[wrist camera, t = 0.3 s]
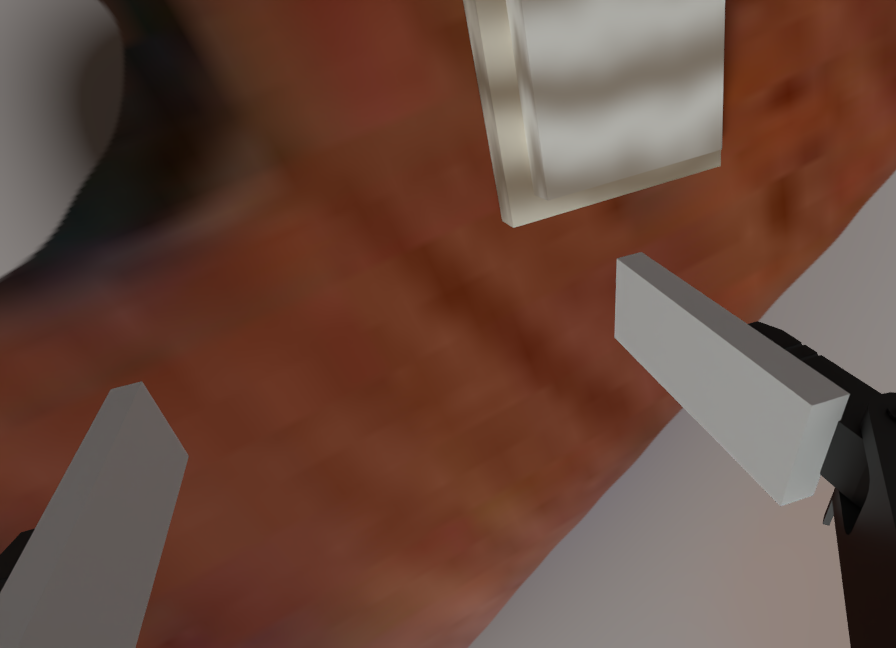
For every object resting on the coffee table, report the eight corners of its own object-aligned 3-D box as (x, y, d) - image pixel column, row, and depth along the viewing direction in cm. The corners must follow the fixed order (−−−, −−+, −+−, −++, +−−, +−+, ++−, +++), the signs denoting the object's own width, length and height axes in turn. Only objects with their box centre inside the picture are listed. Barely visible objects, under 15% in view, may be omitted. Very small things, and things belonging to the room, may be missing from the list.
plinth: (454, -46, 33) (477, -70, 28) (700, -101, 35) (756, -130, 30) (502, 220, 41) (525, 235, 36) (699, 162, 43) (744, 169, 38)
